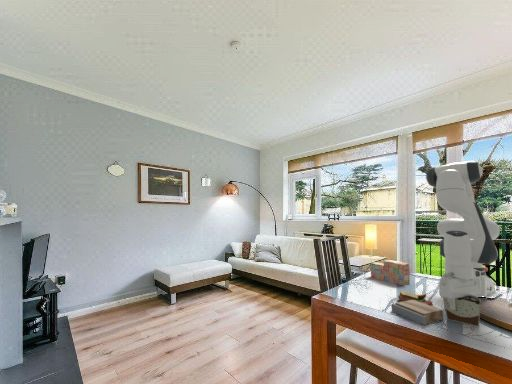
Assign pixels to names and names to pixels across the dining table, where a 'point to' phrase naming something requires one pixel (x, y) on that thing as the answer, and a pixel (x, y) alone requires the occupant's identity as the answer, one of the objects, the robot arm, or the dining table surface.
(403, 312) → the corner jig
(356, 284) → the dining table surface
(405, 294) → the toy sandwich meal
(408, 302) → the walnut slab
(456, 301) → the food container
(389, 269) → the stack of blocks
